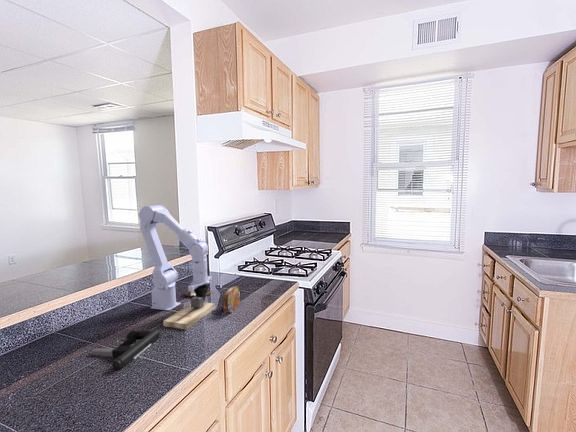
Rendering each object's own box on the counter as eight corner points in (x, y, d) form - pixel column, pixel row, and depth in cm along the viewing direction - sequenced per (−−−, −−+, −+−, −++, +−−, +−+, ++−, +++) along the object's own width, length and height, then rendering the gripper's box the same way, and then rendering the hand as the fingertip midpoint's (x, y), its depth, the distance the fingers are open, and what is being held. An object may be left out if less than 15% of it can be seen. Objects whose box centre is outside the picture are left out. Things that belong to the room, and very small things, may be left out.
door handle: (74, 359, 90) (123, 360, 87) (123, 327, 109) (164, 328, 106) (76, 369, 90) (124, 372, 87) (124, 336, 110) (165, 337, 107)
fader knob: (191, 307, 126) (190, 298, 126) (195, 304, 129) (194, 296, 128) (199, 308, 125) (199, 299, 124) (203, 305, 128) (203, 297, 127)
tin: (228, 316, 123) (228, 295, 122) (221, 315, 124) (220, 295, 123) (241, 301, 138) (241, 283, 137) (235, 301, 138) (234, 283, 137)
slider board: (163, 326, 115) (163, 320, 115) (194, 305, 134) (194, 301, 134) (186, 329, 112) (186, 324, 112) (215, 308, 131) (215, 303, 131)
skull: (204, 297, 141) (190, 280, 142) (190, 310, 144) (177, 293, 145) (217, 288, 152) (204, 272, 153) (205, 300, 155) (192, 284, 156)
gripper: (198, 276, 120) (199, 310, 122) (217, 266, 134) (218, 297, 135) (183, 275, 122) (184, 308, 124) (203, 265, 136) (204, 295, 137)
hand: (201, 302), depth 130 cm, fingers closed
